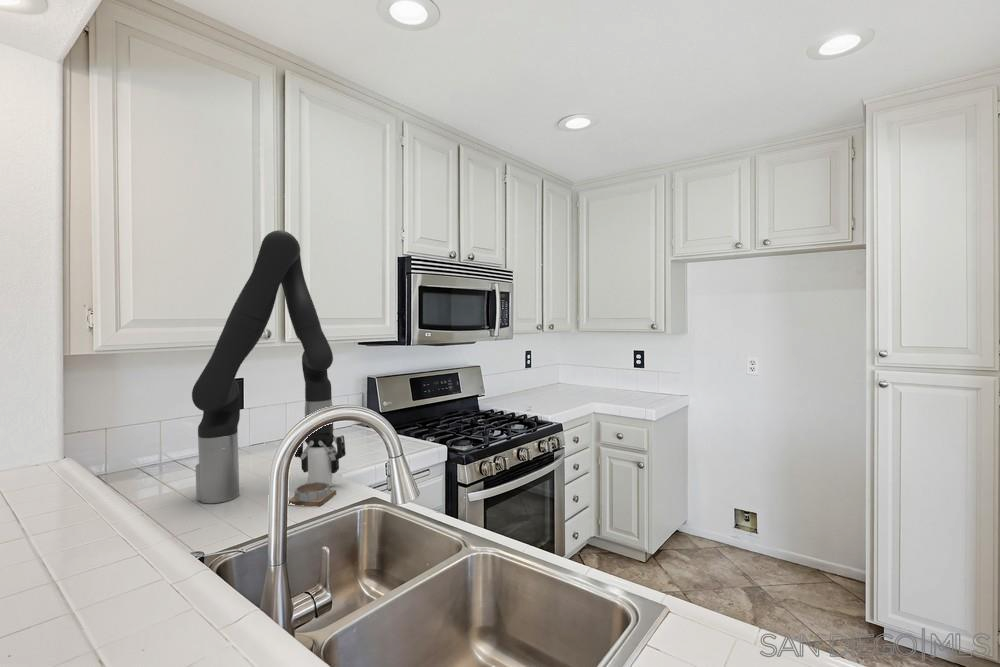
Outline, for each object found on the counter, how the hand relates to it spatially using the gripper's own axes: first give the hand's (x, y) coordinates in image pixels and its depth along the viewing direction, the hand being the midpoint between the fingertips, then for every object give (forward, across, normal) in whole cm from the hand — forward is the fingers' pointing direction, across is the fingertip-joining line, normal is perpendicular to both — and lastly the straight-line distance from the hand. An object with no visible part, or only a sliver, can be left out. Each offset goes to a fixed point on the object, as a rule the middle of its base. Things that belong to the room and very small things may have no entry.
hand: (320, 472), depth 139 cm
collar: (+3, +3, -10) cm, 11 cm away
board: (+4, +3, -10) cm, 11 cm away
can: (+4, 0, 0) cm, 4 cm away
